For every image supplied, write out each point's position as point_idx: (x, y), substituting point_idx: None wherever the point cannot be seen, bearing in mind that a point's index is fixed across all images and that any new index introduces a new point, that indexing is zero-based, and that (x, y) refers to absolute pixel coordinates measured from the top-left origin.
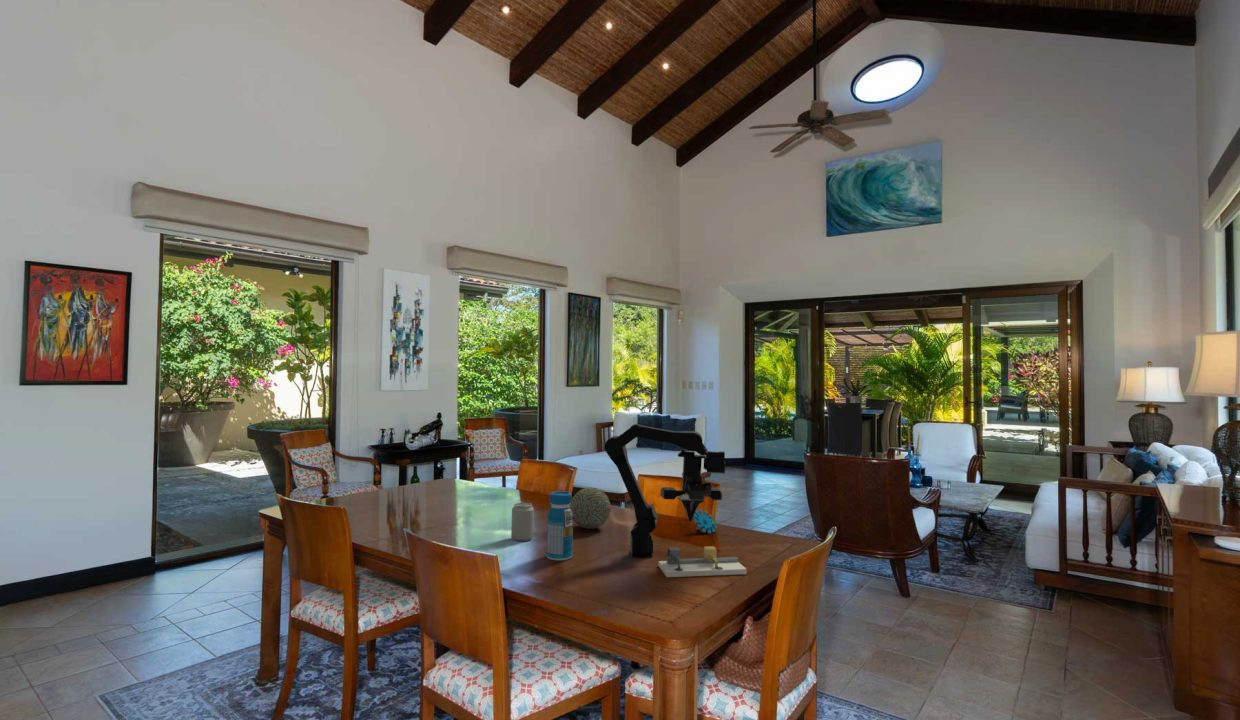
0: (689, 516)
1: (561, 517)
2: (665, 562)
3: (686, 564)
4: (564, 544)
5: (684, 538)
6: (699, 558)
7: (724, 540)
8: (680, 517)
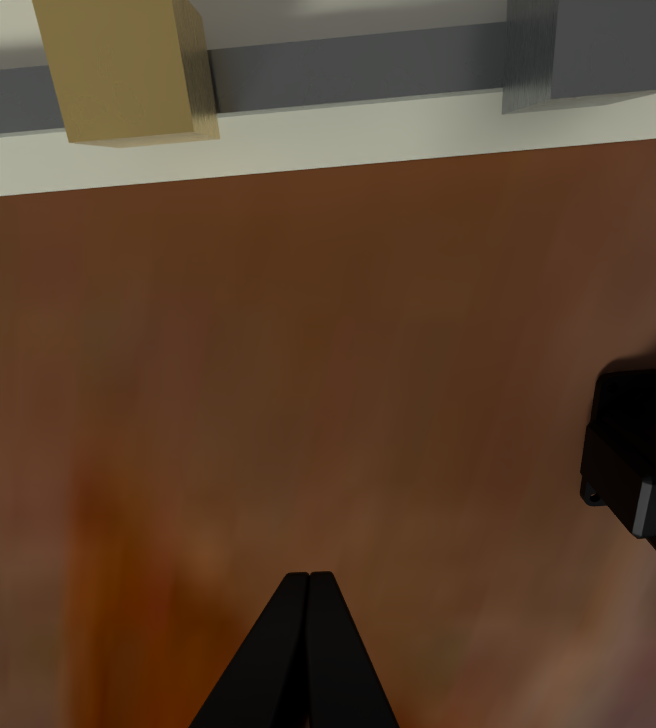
0: (330, 629)
1: None
2: None
3: (425, 9)
4: None
5: None
6: (272, 101)
7: (30, 679)
8: None
